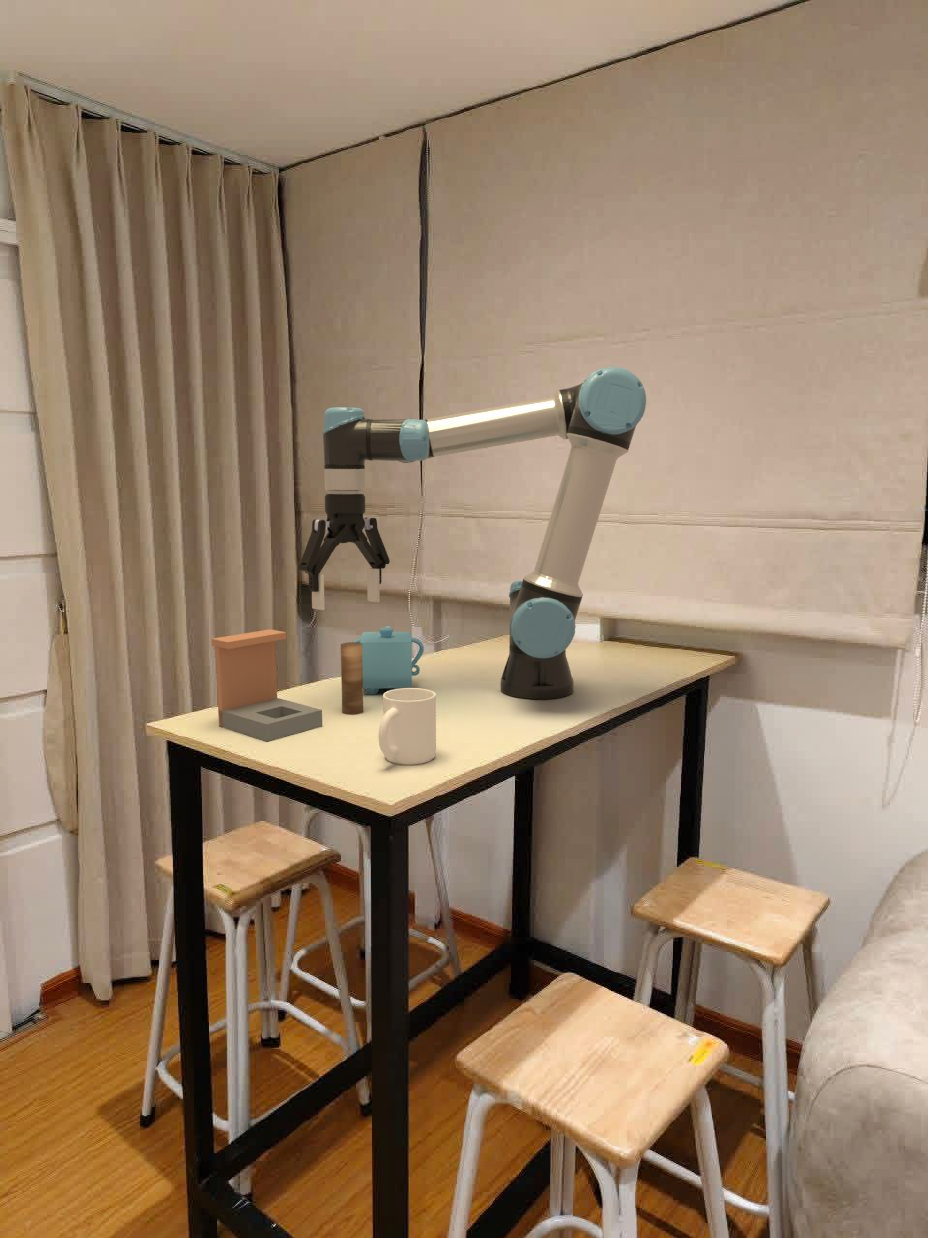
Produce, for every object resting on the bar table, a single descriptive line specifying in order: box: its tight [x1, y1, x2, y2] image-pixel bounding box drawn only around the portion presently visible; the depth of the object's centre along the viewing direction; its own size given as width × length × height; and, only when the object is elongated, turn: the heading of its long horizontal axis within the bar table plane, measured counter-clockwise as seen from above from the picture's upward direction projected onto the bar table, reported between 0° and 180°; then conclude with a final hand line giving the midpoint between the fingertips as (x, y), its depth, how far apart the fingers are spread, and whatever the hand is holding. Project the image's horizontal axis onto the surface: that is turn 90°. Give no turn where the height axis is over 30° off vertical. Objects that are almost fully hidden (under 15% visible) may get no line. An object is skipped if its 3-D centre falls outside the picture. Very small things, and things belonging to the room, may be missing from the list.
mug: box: [378, 687, 437, 766], centre depth 133 cm, size 12×8×10 cm
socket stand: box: [211, 628, 323, 742], centre depth 151 cm, size 15×13×16 cm
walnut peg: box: [340, 641, 364, 716], centre depth 161 cm, size 4×4×13 cm
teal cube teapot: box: [352, 625, 425, 695], centre depth 181 cm, size 18×16×13 cm
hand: (346, 605), depth 163 cm, fingers open, 13 cm apart
